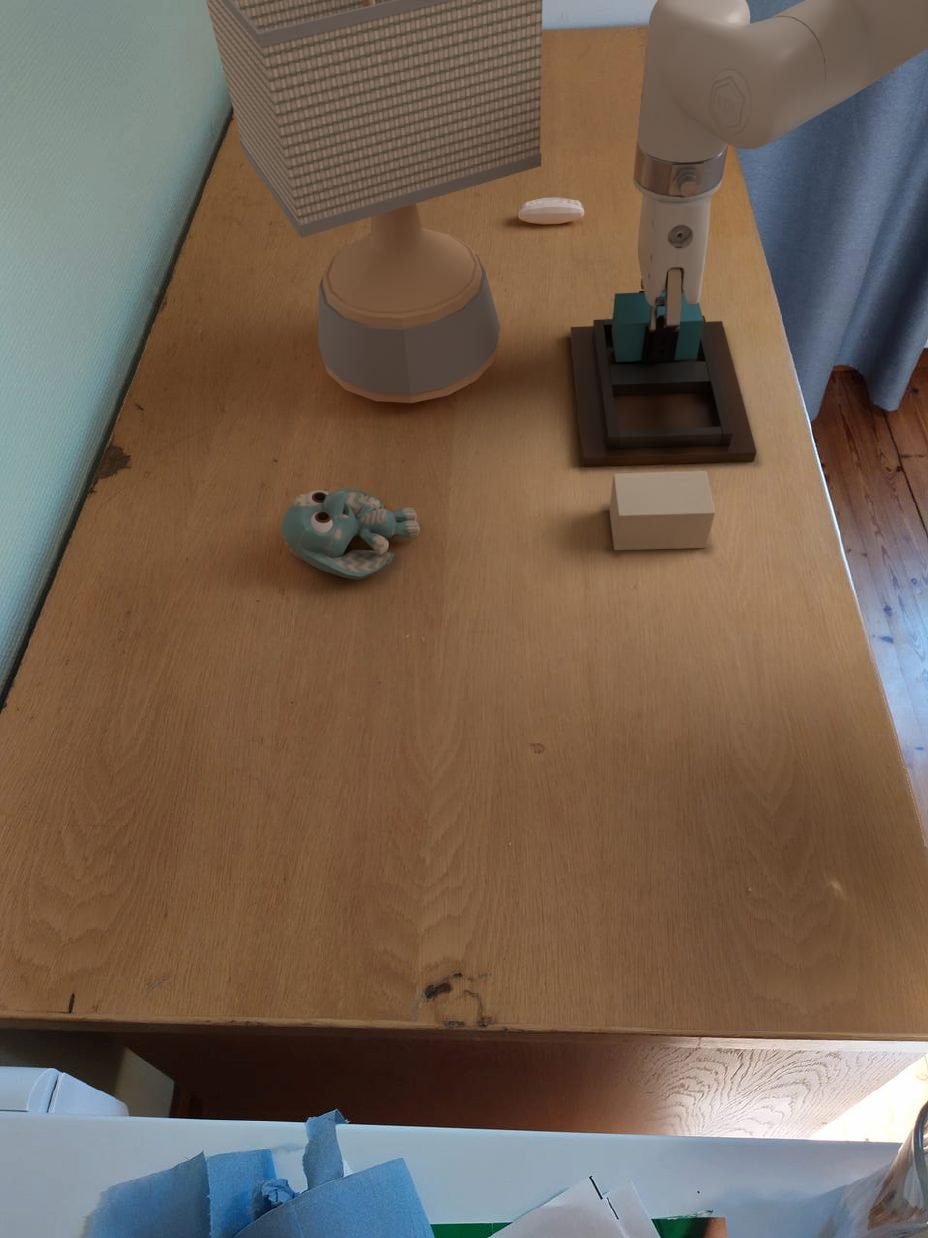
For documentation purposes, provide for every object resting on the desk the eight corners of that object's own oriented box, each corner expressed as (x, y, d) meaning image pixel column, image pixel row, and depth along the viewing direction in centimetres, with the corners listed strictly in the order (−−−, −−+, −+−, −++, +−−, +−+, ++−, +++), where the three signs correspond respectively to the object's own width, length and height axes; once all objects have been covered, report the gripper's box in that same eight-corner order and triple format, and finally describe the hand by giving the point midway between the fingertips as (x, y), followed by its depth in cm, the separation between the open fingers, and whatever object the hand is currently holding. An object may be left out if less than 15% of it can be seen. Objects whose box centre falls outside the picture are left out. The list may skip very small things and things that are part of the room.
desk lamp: (465, 284, 103) (442, -115, 73) (544, 377, 92) (554, -45, 63) (287, 342, 98) (186, -60, 68) (349, 447, 87) (261, 26, 58)
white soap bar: (583, 226, 108) (585, 204, 106) (518, 228, 109) (518, 206, 107) (582, 212, 110) (584, 190, 108) (518, 215, 111) (518, 193, 108)
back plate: (720, 330, 95) (724, 308, 93) (754, 461, 83) (760, 439, 81) (570, 336, 96) (571, 314, 94) (582, 466, 84) (584, 445, 82)
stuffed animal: (434, 533, 73) (285, 542, 70) (425, 589, 78) (287, 600, 76) (412, 445, 79) (274, 450, 76) (405, 503, 85) (277, 510, 82)
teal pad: (689, 328, 92) (696, 289, 88) (696, 359, 89) (703, 320, 85) (611, 331, 92) (614, 293, 88) (615, 362, 89) (619, 323, 86)
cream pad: (698, 506, 80) (706, 470, 77) (706, 548, 77) (715, 512, 74) (609, 508, 81) (613, 473, 77) (614, 550, 78) (618, 515, 74)
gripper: (741, 214, 70) (704, 396, 85) (708, 113, 80) (680, 292, 95) (645, 219, 71) (625, 399, 85) (625, 118, 81) (609, 295, 95)
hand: (654, 341), depth 90 cm, fingers closed on teal pad, 5 cm apart
